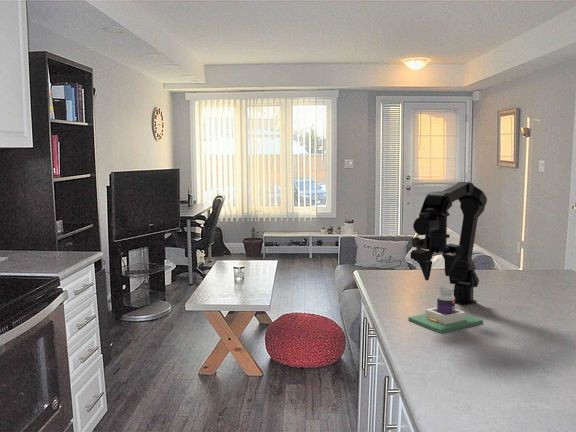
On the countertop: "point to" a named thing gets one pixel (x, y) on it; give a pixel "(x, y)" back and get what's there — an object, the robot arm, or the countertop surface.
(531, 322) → the countertop surface
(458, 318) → the board
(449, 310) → the pill bottle
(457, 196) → the robot arm
